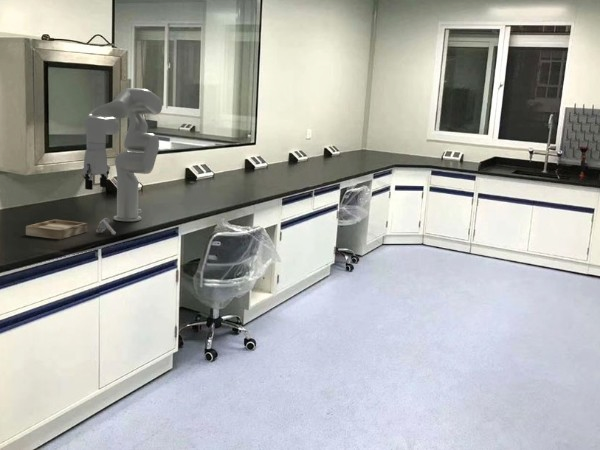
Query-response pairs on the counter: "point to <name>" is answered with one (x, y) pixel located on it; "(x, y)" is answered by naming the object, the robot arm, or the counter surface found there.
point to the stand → (105, 226)
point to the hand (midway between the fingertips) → (96, 188)
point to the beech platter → (56, 229)
